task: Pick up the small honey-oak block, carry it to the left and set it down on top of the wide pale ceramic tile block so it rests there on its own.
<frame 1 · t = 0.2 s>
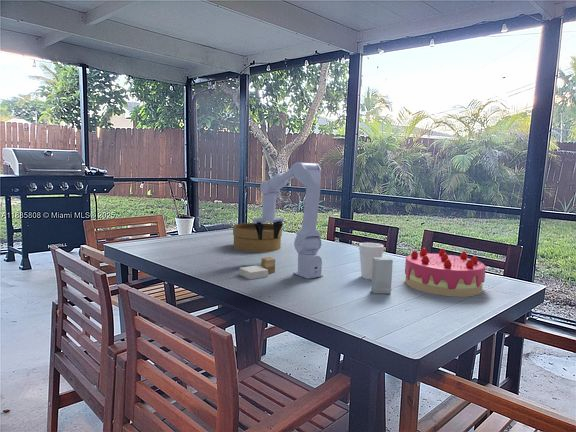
hand: (267, 239, 186), 10 cm above the table, tool pointing down, fingers open, 7 cm apart
cake: (442, 286, 159), on the table
foam cup: (369, 277, 167), on the table
skincare box: (380, 292, 147), on the table
tile block: (253, 276, 162), on the table
oak block: (267, 271, 169), on the table
steamer basket: (257, 247, 217), on the table
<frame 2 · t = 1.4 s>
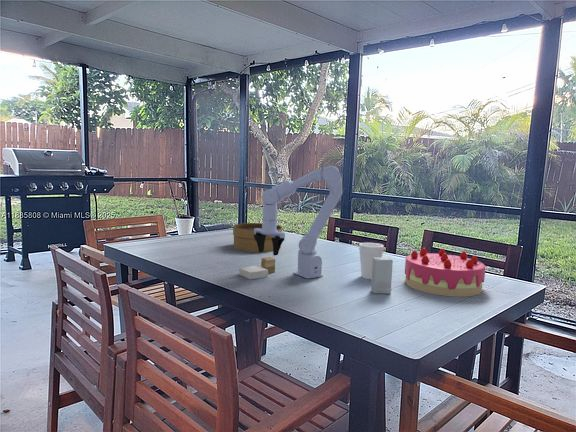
hand: (268, 253, 168), 7 cm above the table, tool pointing down, fingers open, 7 cm apart
nothing on the table moved.
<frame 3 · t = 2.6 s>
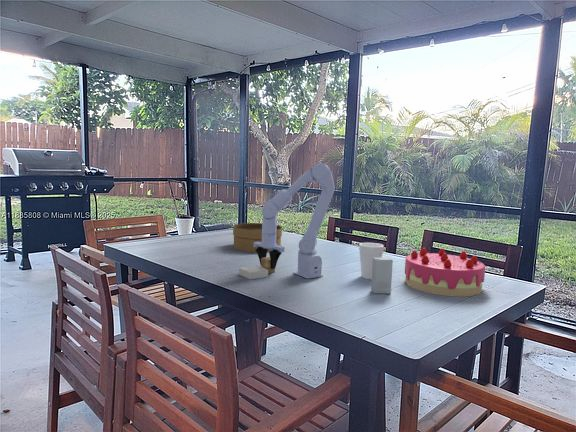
hand: (268, 267, 168), 2 cm above the table, tool pointing down, fingers closed on oak block, 5 cm apart
oak block: (267, 271, 169), on the table, touching gripper
everything else where it was.
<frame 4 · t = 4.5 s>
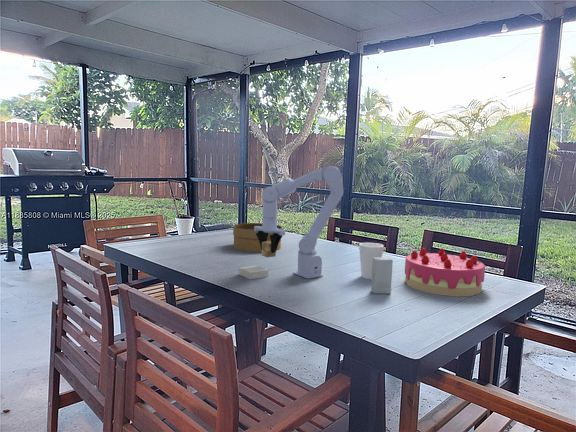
hand: (268, 251, 168), 8 cm above the table, tool pointing down, fingers closed on oak block, 5 cm apart
oak block: (268, 255, 168), point 6 cm above the table, touching gripper
everything else where it was.
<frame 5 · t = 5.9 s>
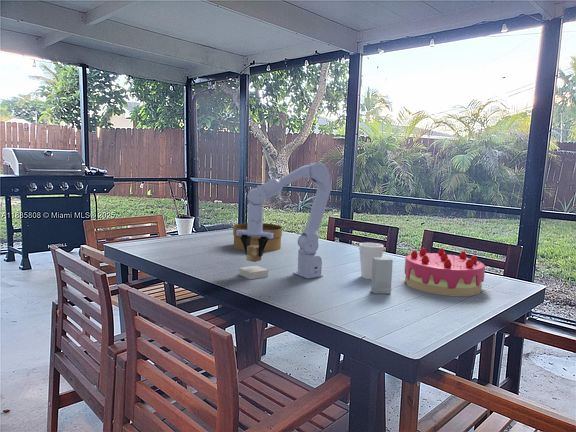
hand: (254, 255, 161), 8 cm above the table, tool pointing down, fingers closed on oak block, 5 cm apart
oak block: (253, 260, 162), point 6 cm above the table, touching gripper
everything else where it was.
when the fingers open (6 cm above the table, at t = 6.8 s): oak block drops 1 cm, resting on tile block.
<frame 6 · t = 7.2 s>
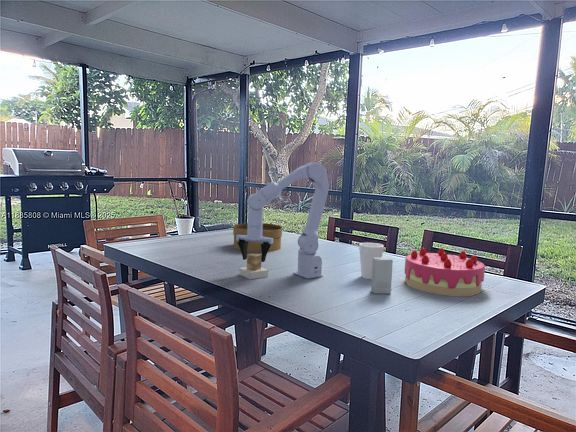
hand: (254, 260, 162), 6 cm above the table, tool pointing down, fingers open, 7 cm apart
tile block: (253, 276, 162), on the table, touching oak block
oak block: (253, 268, 162), point 3 cm above the table, touching tile block
everything else where it was.
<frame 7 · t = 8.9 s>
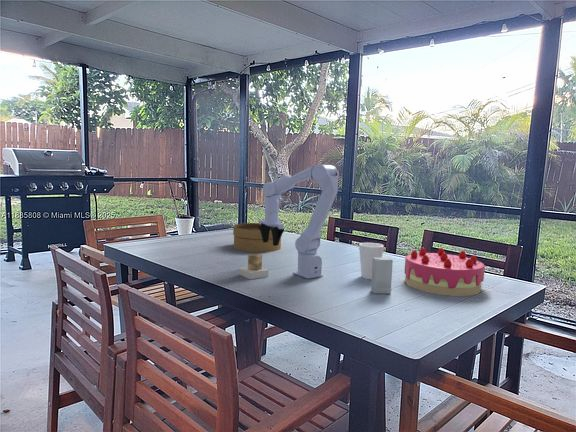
hand: (270, 243, 175), 10 cm above the table, tool pointing down, fingers open, 7 cm apart
nothing on the table moved.
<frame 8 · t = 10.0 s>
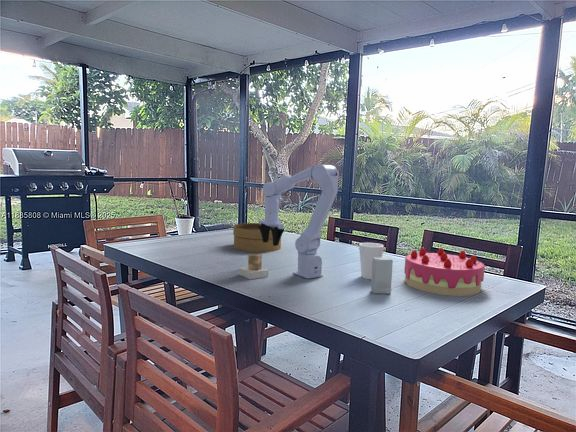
hand: (270, 243, 175), 10 cm above the table, tool pointing down, fingers open, 7 cm apart
tile block: (253, 276, 162), on the table
oak block: (254, 268, 162), point 3 cm above the table
at the end: oak block 0.4 cm off-centre on the tile block, point 3.0 cm above the tile block's base; oak block tilted 0°; steamer basket moved 0.4 cm from its start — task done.
